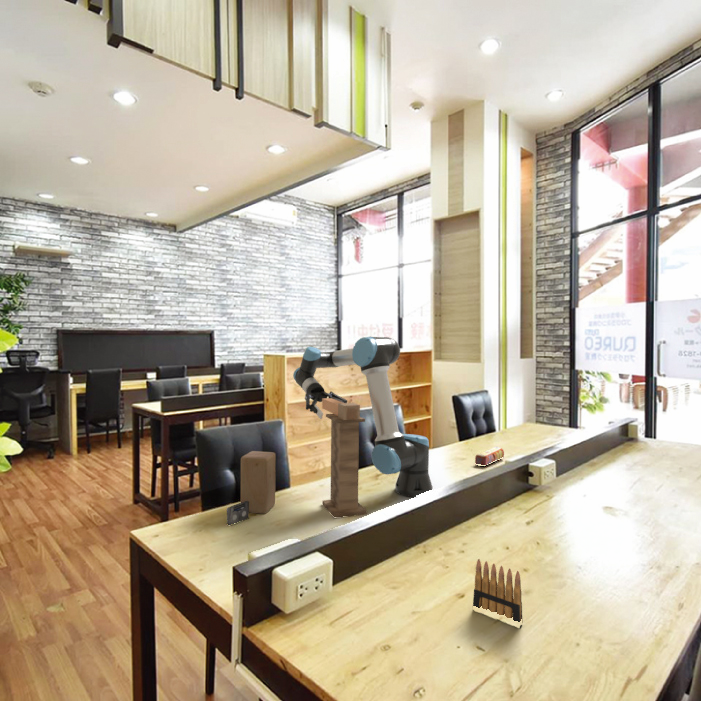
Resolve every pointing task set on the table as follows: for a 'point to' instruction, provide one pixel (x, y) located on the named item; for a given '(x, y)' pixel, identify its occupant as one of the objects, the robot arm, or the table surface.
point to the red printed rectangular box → (489, 456)
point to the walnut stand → (344, 468)
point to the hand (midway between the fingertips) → (335, 414)
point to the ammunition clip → (498, 592)
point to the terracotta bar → (341, 409)
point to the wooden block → (258, 481)
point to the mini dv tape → (238, 512)
